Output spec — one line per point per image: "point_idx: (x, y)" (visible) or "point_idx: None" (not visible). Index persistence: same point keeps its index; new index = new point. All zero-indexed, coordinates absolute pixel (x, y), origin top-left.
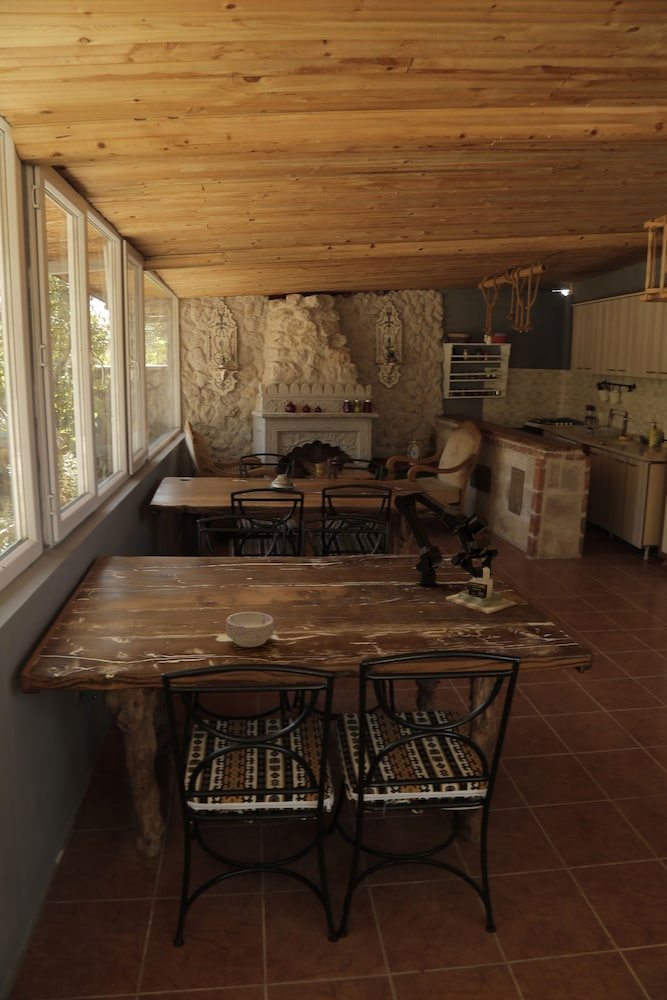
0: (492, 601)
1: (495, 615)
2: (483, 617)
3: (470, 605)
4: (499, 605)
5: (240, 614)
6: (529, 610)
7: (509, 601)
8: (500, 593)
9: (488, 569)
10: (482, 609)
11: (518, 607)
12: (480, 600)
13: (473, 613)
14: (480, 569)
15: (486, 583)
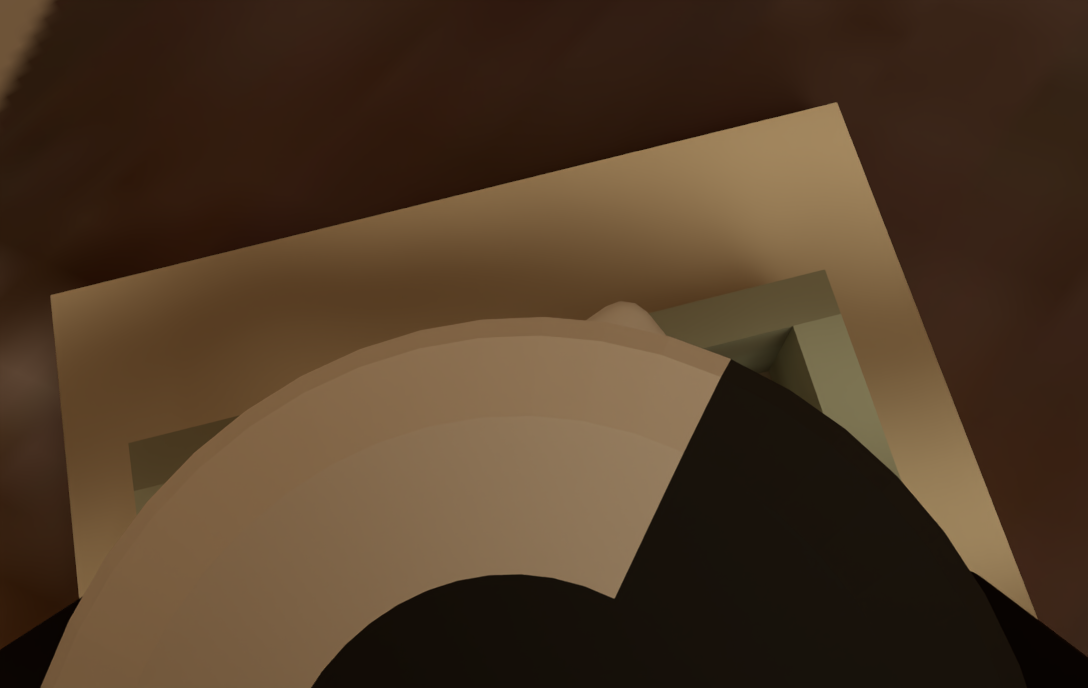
0: None
1: (760, 25)
2: (1006, 22)
3: (988, 499)
4: (456, 254)
5: None
6: (102, 10)
7: (119, 363)
8: (145, 498)
9: (307, 408)
10: (879, 222)
11: (140, 181)
12: (842, 349)
13: (1073, 233)
14: (838, 516)
15: (641, 324)
